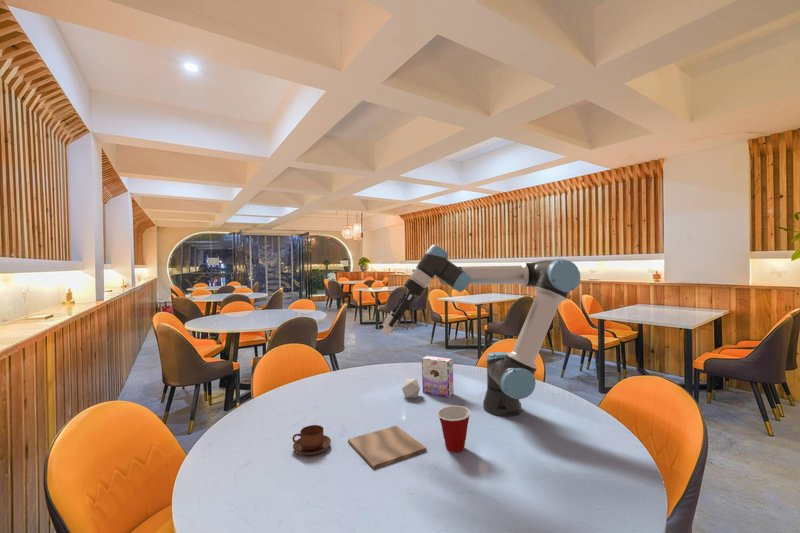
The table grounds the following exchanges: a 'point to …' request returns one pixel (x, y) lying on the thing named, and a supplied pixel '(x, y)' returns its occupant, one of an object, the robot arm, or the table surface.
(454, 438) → the plastic cup
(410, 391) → the die
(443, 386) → the candy box
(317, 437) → the cup and saucer
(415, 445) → the walnut board
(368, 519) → the table surface
